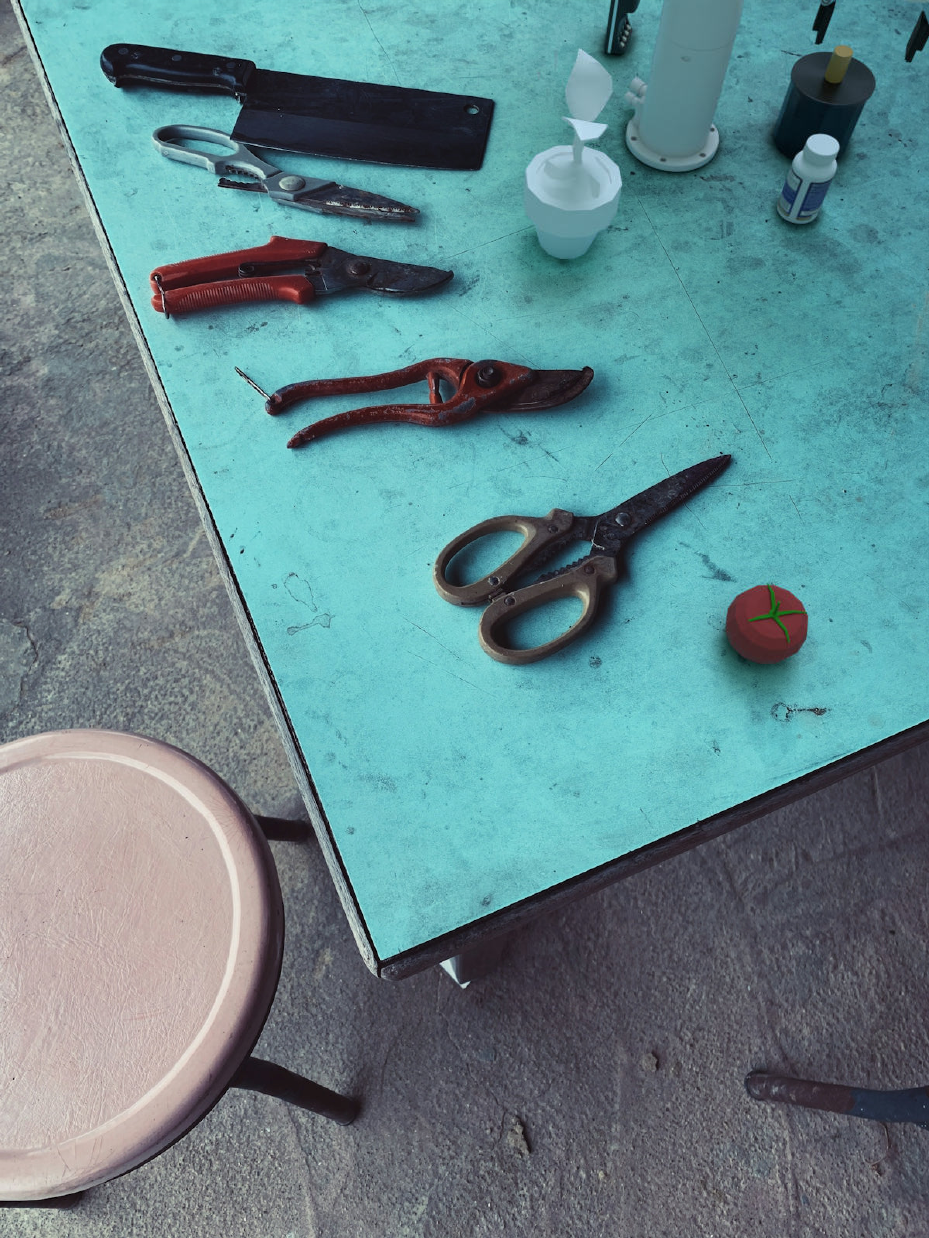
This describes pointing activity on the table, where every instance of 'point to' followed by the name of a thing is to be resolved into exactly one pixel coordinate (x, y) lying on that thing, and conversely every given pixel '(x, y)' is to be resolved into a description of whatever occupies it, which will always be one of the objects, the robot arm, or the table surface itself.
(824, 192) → the pill bottle
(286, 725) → the table surface
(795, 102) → the pot
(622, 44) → the battery charger
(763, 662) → the tomato
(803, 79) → the pot lid
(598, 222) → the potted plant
